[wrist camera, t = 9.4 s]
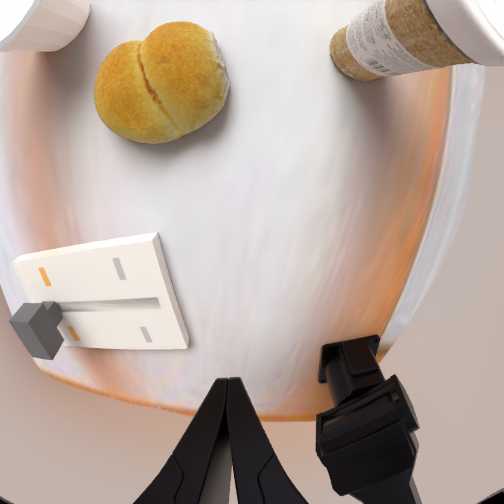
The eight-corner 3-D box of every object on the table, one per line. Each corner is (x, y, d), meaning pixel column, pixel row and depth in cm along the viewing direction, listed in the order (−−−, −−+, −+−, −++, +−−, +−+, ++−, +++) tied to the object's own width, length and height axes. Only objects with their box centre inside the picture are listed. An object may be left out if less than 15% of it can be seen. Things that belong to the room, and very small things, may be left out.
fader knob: (72, 326, 22) (52, 360, 18) (52, 326, 22) (32, 356, 18) (53, 290, 20) (28, 322, 16) (33, 291, 20) (9, 321, 16)
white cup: (37, 73, 13) (-20, 72, 7) (32, 19, 10) (-17, 9, 4) (102, 29, 12) (50, 5, 6) (93, -23, 9) (51, -52, 3)
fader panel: (189, 337, 25) (187, 348, 24) (60, 336, 25) (55, 345, 24) (157, 232, 20) (151, 240, 19) (20, 255, 20) (11, 262, 19)
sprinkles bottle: (392, 50, 14) (533, 21, 2) (371, 94, 16) (528, 93, 4) (340, 17, 13) (454, -66, 1) (316, 61, 15) (439, -13, 3)
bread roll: (96, 66, 14) (67, 59, 10) (209, 18, 13) (201, -5, 10) (124, 161, 18) (99, 171, 14) (242, 118, 17) (241, 117, 13)
